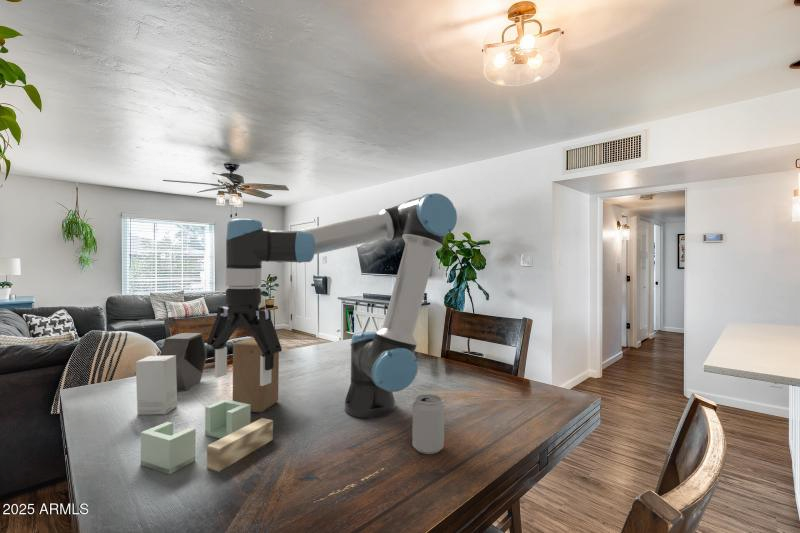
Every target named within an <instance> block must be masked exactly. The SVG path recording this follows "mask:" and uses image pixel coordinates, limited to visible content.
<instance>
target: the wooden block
mask: <svg viewBox="0 0 800 533" xmlns="http://www.w3.org/2000/svg"><path fill="white" fill-rule="evenodd" d="M262 355H263V353H262V351H261V349H260V347H259V346H258V344H257V342H256V341H255V339H254V337H253V336H252V337H249V338H246V339H243V340H240V341H237V342H234V343H233V345H232V401H236V402H241V403H245V404H250V405H251V412H250V413H263V412H265V411H266V410H267V409H269V408H271V407H272V406H273V405H275V404H276V403H278V401H279V380H280V379H279V377H280V376H279V373H280V372H279V370H280V368H279V367H280V364H279V363H280V362H279V360H280V359H279V358H280V352H278V353H275V354H274V367H273V369H272V372H271V383H269V384H267V385H264V386H260V356H262Z"/></svg>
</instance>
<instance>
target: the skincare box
mask: <svg viewBox="0 0 800 533" xmlns="http://www.w3.org/2000/svg"><path fill="white" fill-rule="evenodd" d="M135 375H136V376H135V377H136V378H135V379H136V408H137V410H136V411H137V415H140V416H142V415H144V416H146V415H148V416H149V415H150V416H151V415H167V414H169V413H170V412H171V411H173V410H174V409H175V408H177V406H178V391H177V378H176V355H173V356H160V355H148V356H146V357H144V358H141V359H139V360H137V361H135Z"/></svg>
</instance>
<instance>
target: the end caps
mask: <svg viewBox="0 0 800 533" xmlns="http://www.w3.org/2000/svg"><path fill="white" fill-rule="evenodd" d="M204 410H205V412H204V413H205V415H204V420H205V422H204V425H205V426H204V435H205V436H209V437H213V438H218V439H221V438H223V437H225V436H227V435H229V434H231V433H233V432H235V431H237V430H239V429H241V428H243V427H245V426H247V425H249V424H251V413H252V412H251V405H250V404H245V403H241V402H236V401H233V400H231V399H230V400H229V399H222V400H219V401H216V402H215V403H212V404H208V405H206V406H205V409H204ZM173 426H174V424H173V422H171V421H166V422H164V423H161V424H158V425H156V426H153V427H151V428H148V429H146V430H144V431H141V432H140V466H143V467H146V468H149V469H152V470H154V471H157V472H161V473H164V474H167V475H170V474H173V473H174V472H177V471H179V470H180V469H183V468H184V467H186V466H188V465H190V464H191V463H194V462H196V434H197V433H196V428H194V427H188V428H185V429H183V430H181V431H179V432H176V433H173V432H174V427H173Z"/></svg>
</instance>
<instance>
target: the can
mask: <svg viewBox="0 0 800 533" xmlns="http://www.w3.org/2000/svg"><path fill="white" fill-rule="evenodd" d="M442 400H443V399H442V397H440V396H439V395H436V394H431V393H430V394H427V393H423V394H420V395H417V396H416V397H415V400H414V402H413V404H412V430H411V431H412V436H411V438H412V442H411V443H412V447H413V448H414V449H415V450H416V451H417V452H418V453H421V454H424V455H434V454H437V453H439V452H440V451H441V450H442V449H444V445H445V404H444V402H442Z"/></svg>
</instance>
